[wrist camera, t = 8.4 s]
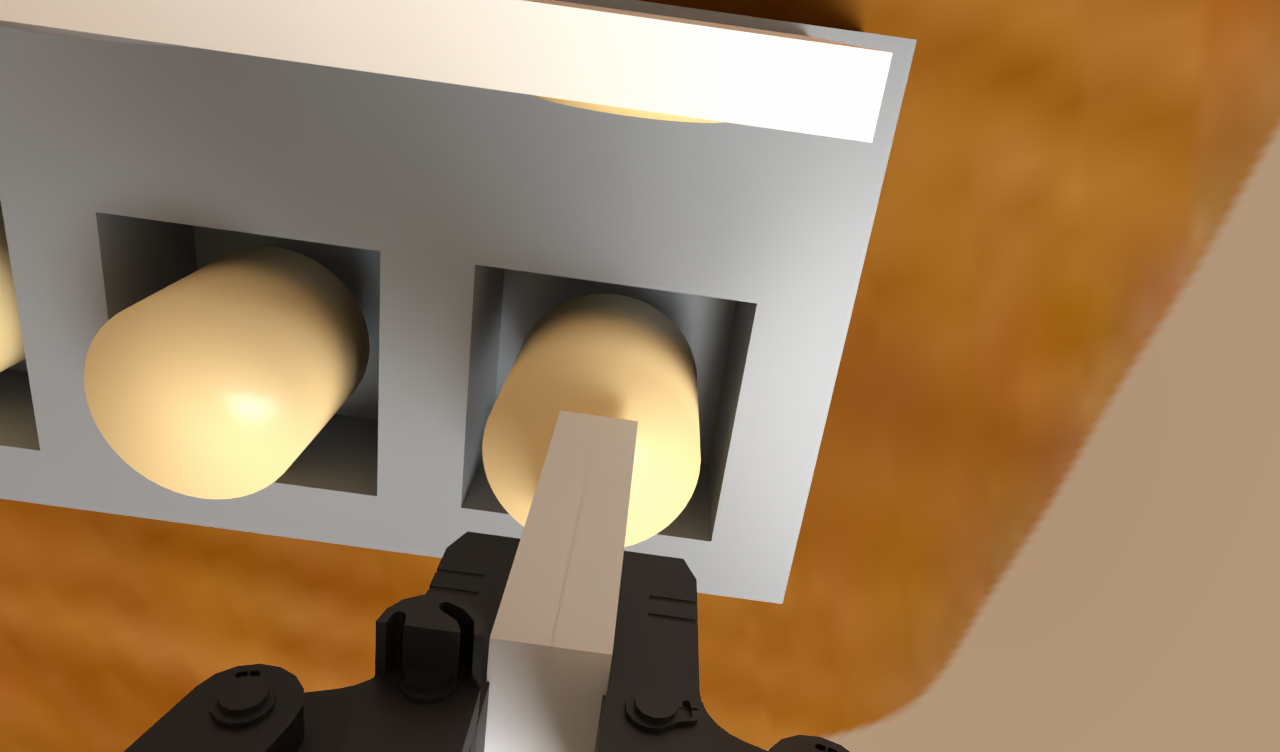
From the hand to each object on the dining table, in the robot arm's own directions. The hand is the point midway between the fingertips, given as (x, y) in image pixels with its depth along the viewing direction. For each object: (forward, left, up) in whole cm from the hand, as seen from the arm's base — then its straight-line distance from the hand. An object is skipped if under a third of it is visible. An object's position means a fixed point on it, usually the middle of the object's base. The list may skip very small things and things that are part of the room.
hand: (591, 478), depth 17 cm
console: (-8, +2, -8) cm, 11 cm away
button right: (0, 0, -5) cm, 5 cm away
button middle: (-8, 0, -5) cm, 9 cm away
